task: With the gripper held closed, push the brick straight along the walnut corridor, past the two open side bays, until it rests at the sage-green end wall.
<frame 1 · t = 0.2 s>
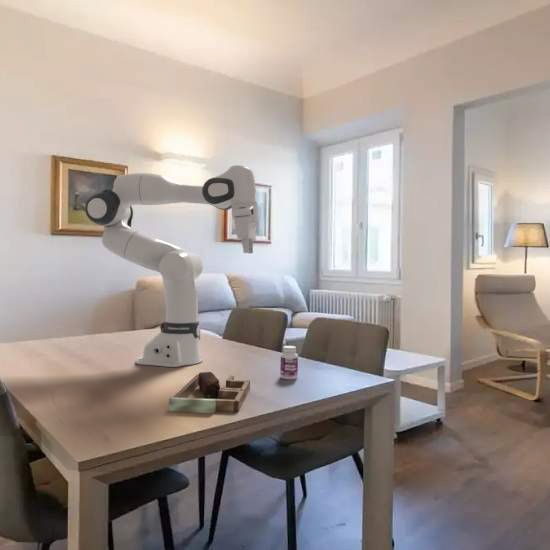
hand: (248, 253, 161), 39 cm above the table, tool pointing down, fingers open, 8 cm apart
brick: (208, 394, 127), on the table
pill bottle: (288, 378, 144), on the table
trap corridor: (204, 396, 123), on the table
figurine stand: (181, 341, 205), on the table
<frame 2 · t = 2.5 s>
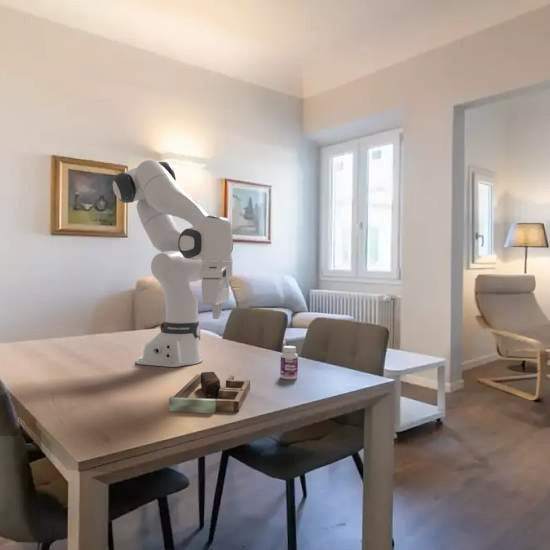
hand: (216, 318, 136), 19 cm above the table, tool pointing down, fingers closed
nothing on the table moved.
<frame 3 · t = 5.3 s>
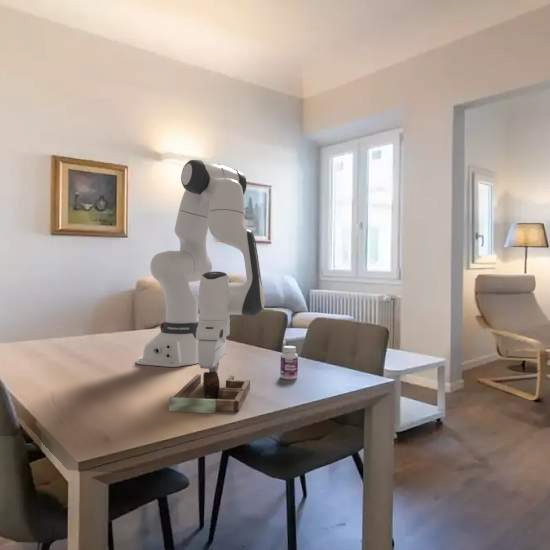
hand: (213, 377, 133), 3 cm above the table, tool pointing down, fingers closed
brick: (211, 394, 126), on the table, touching gripper
everything else where it was.
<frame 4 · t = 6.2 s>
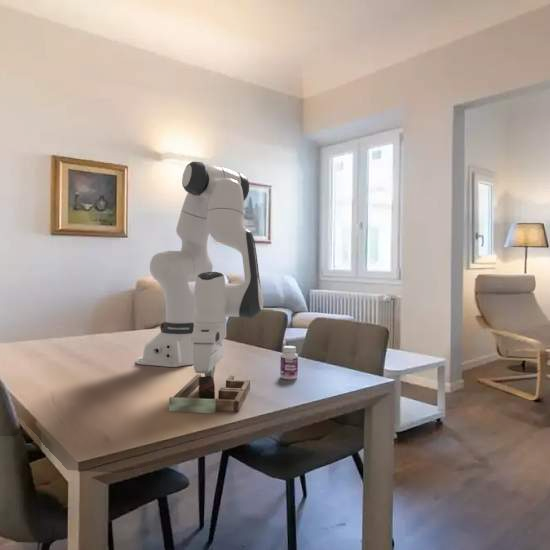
hand: (209, 381, 128), 3 cm above the table, tool pointing down, fingers closed
brick: (206, 399, 121), on the table, touching gripper
everything else where it was.
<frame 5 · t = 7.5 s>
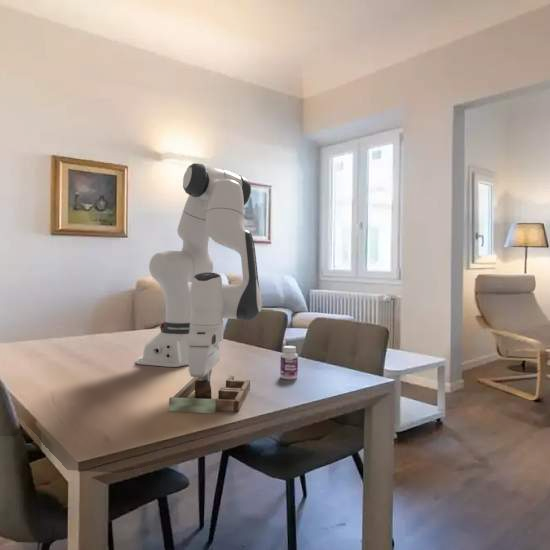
hand: (205, 385, 124), 3 cm above the table, tool pointing down, fingers closed
brick: (202, 404, 117), on the table, touching gripper
everything else where it was.
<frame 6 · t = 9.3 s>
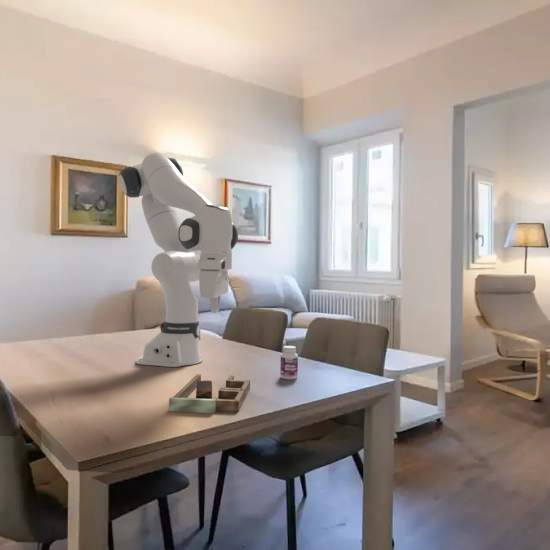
hand: (214, 312, 131), 21 cm above the table, tool pointing down, fingers closed
brick: (204, 404, 117), on the table
everything else where it was.
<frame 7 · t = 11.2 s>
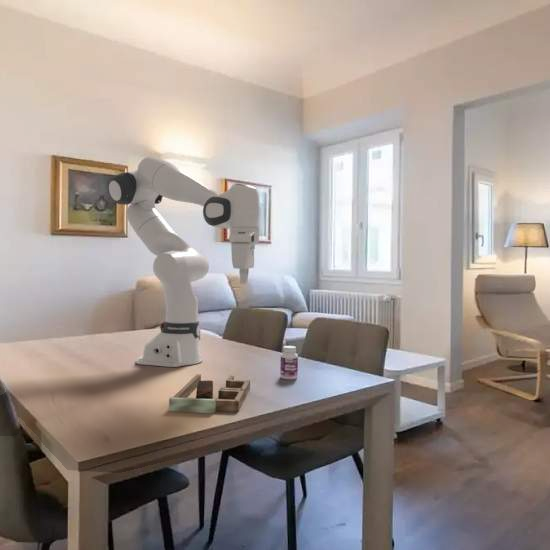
hand: (243, 283, 141), 29 cm above the table, tool pointing down, fingers closed
nothing on the table moved.
at the end: brick 1.4 cm from the target spot, on the table; brick tilted 0°; brick moved 9.3 cm from its start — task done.
